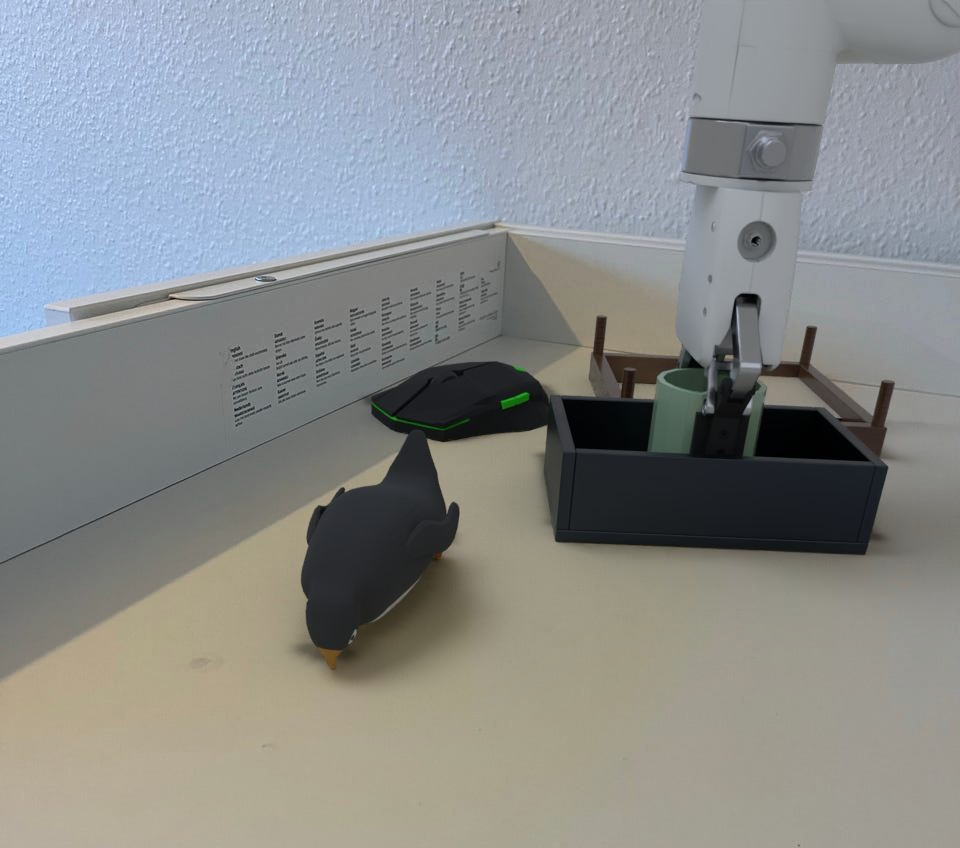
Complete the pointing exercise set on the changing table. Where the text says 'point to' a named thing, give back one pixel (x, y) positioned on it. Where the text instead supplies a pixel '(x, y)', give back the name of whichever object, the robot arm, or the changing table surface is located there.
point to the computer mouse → (464, 401)
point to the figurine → (374, 547)
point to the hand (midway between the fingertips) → (700, 454)
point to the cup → (691, 411)
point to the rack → (854, 417)
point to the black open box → (709, 482)
